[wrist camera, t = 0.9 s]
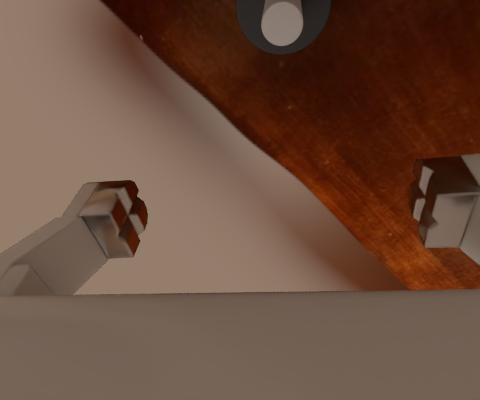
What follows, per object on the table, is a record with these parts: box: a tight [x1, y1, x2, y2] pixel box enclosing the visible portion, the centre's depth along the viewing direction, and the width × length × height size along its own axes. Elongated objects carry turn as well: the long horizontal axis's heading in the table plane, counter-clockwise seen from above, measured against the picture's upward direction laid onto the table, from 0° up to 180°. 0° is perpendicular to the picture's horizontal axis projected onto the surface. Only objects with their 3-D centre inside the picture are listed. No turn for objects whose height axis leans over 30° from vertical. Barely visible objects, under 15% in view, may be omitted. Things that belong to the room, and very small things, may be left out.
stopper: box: [236, 0, 331, 54], centre depth 19 cm, size 5×5×6 cm
